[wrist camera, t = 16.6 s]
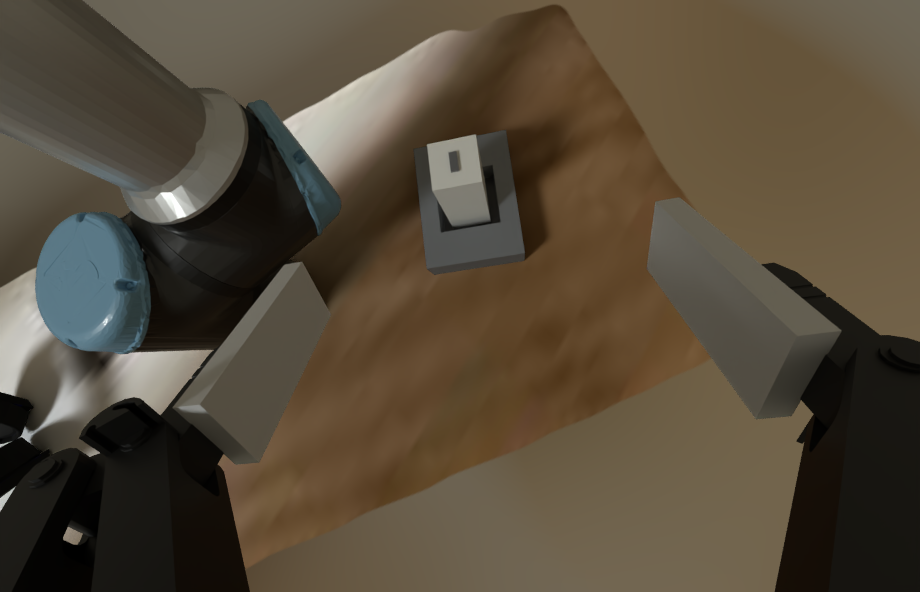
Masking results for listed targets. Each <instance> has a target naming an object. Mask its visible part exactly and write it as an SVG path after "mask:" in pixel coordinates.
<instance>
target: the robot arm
mask: <svg viewBox="0 0 920 592" xmlns="http://www.w3.org/2000/svg"><path fill="white" fill-rule="evenodd" d="M0 133H3V134H5V135H7V136H9V137H11V138H14V139H16V140H18V141H20V142H22V143H25V144H27V145H29V146H31V147H33V148H36V149H38V150H40V151H42V152H44V153H47V154H49V155H51V156H53V157H56V158H58V159H60V160H62V161H64V162H66V163H69V164H71V165H73V166H75V167H78V168H80V169H82V170H84V171H86V172H88V173H91V174H93V175H95V176H98V177H100V178H102V179H104V180H106V181H108V182H111V183H113V184H115V185H117V186H119V187H120V188H121V191H122V194H123V196H124V199H125V201H126V203H127V205H128V207H129V208H130V210H131V211H130V212H129V213H128V214H127V215H126V216H124V217H122V218H118V217H117V216H115V215H113V214H110V213H107V212H100V213H97V212H90V213H86V212H83V213H78V214H74V215H72V216H70V217H69V218H67V219H66V220H64V221H63V222H61V223H60V224H59V225H58V226H57V227H56V228H55V229H54V230H53V232H52V233H51V234H50V236H49V237H48V239H47V241H46V242H45V244H44V246H43V249H42V252H41V254H40V257H39V261H38V265H37V270H36V282H35V290H36V299H37V304H38V308H39V311H40V313H41V316H42V318H43V320H44V322H45V324H46V326H47V327H48V329H49V330H50V331H51V332H52V333H53V334H54V335H55V336H56V337H57V338H58V339H59V340H60V341H62V342H63V343H65V344H66V345H69V346H71V347H73V348H77V349H80V350H85V351H104V352H115V353H118V354H128V353H132V352H157V351H185V350H214V351H212V352H211V353H210V354H209V356H208V357H207V358H206V359H205V361H204V362H203V363H202V364H201V366H200V368H199V369H197V371H196V372H195V373H194V374H193V376H192V379H189V381H188V382H187V383H186V384H185V386H184V387H183V388H182V389H181V391H180V392H179V393H178V394H177V396H176V397H175V398H174V399H173V401H172V402H171V403H170V404H169V406H168V407H167V408H166V409H165V411H164V412H163V413H162V414H161V416H160V415H159V414H158V413H157V412H155V411H154V410H153V409H152V408H151V407H150V406H148V405H147V404H146V403H145V402H144V401H143V400H141V399H140V398H135V397H133V398H128V399H124V400H122V401H120V402H117V403H115V404H113V405H111V406H110V407H108V408H107V409H105V410H103V411H102V412H101V413H99V414H98V415H97V416H96V417H95V418H93V419H92V420H91V421H90V422H89V423H88V424H87V426H86V427H85V428H84V429H83V430H82V433H81V435H80V437H79V439H81V440H82V441H84V442H85V443H87V444H88V445H90V446H91V447H93V448H94V449H96V450H97V451H99V452H100V454H97V455H94V456H92V457H89V456H87V455H86V454H84V453H83V452H81V451H80V450H78V449H77V448H68V449H65V450H62V451H59V452H57V453H55V454H53V455H52V456H50V457H47V458H45V459H44V460H42V461H41V463H38V464H37V465H35V466H34V467H33V468H32V469H31V471H29V472H28V473H27V474H26V475H25V476H24V477H23V478H22V480H21V481H20V482H19V483H18V485H17V486H16V487H15V489H14V490H13V492H12V494H11V495H10V497H9V499H8V500H7V502H6V503H5V505H4V507H3V508H2V510H1V512H0V592H250V590H249V586H248V581H247V576H246V572H245V567H244V562H243V558H242V553H241V548H240V544H239V539H238V535H237V530H236V525H235V521H234V516H233V511H232V507H231V502H230V498H229V493H228V488H227V484H226V479H225V474H224V471H223V470H222V468H221V467H220V466H219V465H218V462H219V461H220V459H221V457H222V455H223V454H224V455H226V456H227V457H228V458H229V459H230V460H231V461H232V462H233V463H234V464H247V463H259V462H260V460H261V458H262V456H263V454H264V452H265V450H266V448H267V445H268V443H269V441H270V439H271V437H272V435H273V433H274V431H275V429H276V427H277V425H278V423H279V421H280V419H281V417H282V415H283V413H284V410H285V408H286V406H287V404H288V402H289V400H290V398H291V396H292V394H293V392H294V390H295V388H296V386H297V384H298V382H299V380H300V378H301V375H302V373H303V371H304V369H305V367H306V365H307V363H308V361H309V359H310V357H311V355H312V353H313V351H314V349H315V347H316V345H317V342H318V340H319V338H320V336H321V334H322V332H323V330H324V328H325V326H326V324H327V322H328V320H329V318H330V316H331V314H330V312H329V310H328V308H327V306H326V305H325V303H324V301H323V299H322V297H321V295H320V293H319V292H318V290H317V288H316V286H315V284H314V282H313V281H312V279H311V277H310V275H309V273H308V271H307V269H306V268H305V266H304V264H303V262H297V263H295V262H293V261H291V260H289V259H290V258H292V257H293V256H294V255H295V254H296V253H298V252H299V251H300V250H301V249H302V248H304V247H305V246H306V245H307V244H308V243H310V242H311V241H312V240H313V239H314V238H316V237H317V236H319V235H320V234H321V233H322V230H323V229H324V228H325V227H326V226H327V225H328V224H329V223H330V222H331V221H332V220H333V219H334V218H335V217H336V216H337V215H338V214H339V212H340V209H341V200H340V198H339V195H338V194H337V192H336V191H335V190H334V188H333V187H332V186H331V184H330V183H329V182H328V180H327V179H326V178H325V176H324V175H323V174H322V172H321V171H320V170H319V168H318V167H317V166H316V165H315V163H314V162H313V161H312V159H311V158H310V157H309V155H308V154H307V153H306V152H305V150H304V149H303V148H302V146H301V145H300V144H299V143H298V141H297V140H296V139H295V137H294V136H293V135H292V133H291V132H290V131H289V130H288V128H287V127H286V126H285V125H284V123H283V122H282V121H281V119H280V118H279V117H278V116H277V114H276V113H275V112H274V111H273V110H272V108H271V107H270V106H269V105H268V104H267V102H265V101H263V100H257V101H255V102H251V103H248V105H247V107H246V109H245V108H244V107H243V106H242V105H240V104H239V103H238V102H237V101H236V100H235V99H234V98H232V97H231V96H229V95H228V94H227V93H225V92H224V91H221V90H218V89H214V88H189V87H188V86H187V85H186V84H184V83H183V82H182V81H180V80H179V79H178V78H177V77H176V76H175V75H173V74H172V73H171V72H170V71H168V70H167V69H166V68H165V67H164V66H162V65H161V64H159V62H157V61H156V60H155V59H154V58H153V57H151V56H150V55H149V54H147V53H146V52H145V51H144V50H143V49H142V48H140V47H139V46H138V45H137V44H135V43H134V42H133V41H132V40H131V39H129V38H128V37H127V36H126V35H124V34H123V33H122V32H121V31H120V30H118V29H117V28H116V27H115V26H113V25H112V24H111V23H110V22H109V21H107V20H106V19H105V18H104V17H102V16H101V15H100V14H99V13H97V12H96V11H95V10H94V9H93V8H91V7H90V6H89V5H88V4H86V3H85V2H84V1H83V0H0ZM647 270H648V271H649V272H650V274H651V275H652V277H653V278H654V279H655V281H656V282H657V283H658V285H659V286H660V288H661V289H662V290H663V292H664V293H665V294H666V296H667V297H668V299H669V300H670V301H671V303H672V304H673V305H674V307H675V308H676V310H677V311H678V312H679V314H680V315H681V317H682V318H683V319H684V321H685V322H686V323H687V325H688V326H689V328H690V329H691V330H692V332H693V333H694V334H695V336H696V337H697V339H698V340H699V341H700V343H701V344H702V345H703V347H704V348H705V350H706V351H707V352H708V354H709V355H710V357H711V358H712V359H713V360H714V362H715V363H716V365H717V366H718V368H719V369H720V370H721V372H722V373H723V374H724V376H725V377H726V378H727V380H728V381H729V383H730V384H731V385H732V387H733V388H734V390H735V391H736V392H737V394H738V395H739V397H740V398H741V399H742V401H743V402H744V403H745V405H746V406H747V407H748V409H749V410H750V412H751V413H752V414H753V416H754V417H755V418H756V419H764V418H775V417H786V416H792V414H793V413H794V411H795V409H796V408H797V406H798V404H799V403H800V400H802V401H803V402H804V403H805V405H806V406H807V407H808V408H809V409H810V410H811V411H812V413H813V414H814V415H813V416H812V418H811V419H810V421H809V422H808V424H807V425H806V427H805V429H804V430H803V432H802V433H801V435H800V436H799V438H798V439H797V442H799V443H803V442H804V447H803V451H802V457H801V462H800V467H799V472H798V477H797V482H796V487H795V492H794V497H793V502H792V508H791V512H790V517H789V522H788V527H787V532H786V537H785V542H784V547H783V552H782V558H781V562H780V567H779V573H778V577H777V582H776V588H775V592H920V342H918V341H915V340H912V339H909V338H904V337H897V336H891V335H879V334H878V333H876V332H875V331H874V330H873V329H871V328H870V327H869V326H867V325H866V324H865V323H863V322H862V321H861V320H859V319H858V318H857V317H855V316H854V315H853V314H851V313H850V312H849V311H847V310H846V309H845V308H843V307H842V306H841V305H839V304H838V303H837V302H836V301H834V300H833V299H831V298H830V297H826V294H825V293H824V292H822V291H821V290H820V289H818V288H817V287H813V286H812V285H813V284H811V283H810V282H809V281H808V280H806V279H805V278H804V277H802V276H801V275H800V274H798V273H797V272H795V271H793V270H790V269H788V268H786V267H783V266H781V265H778V264H776V263H769V264H760V263H759V262H757V261H756V260H755V259H754V258H753V257H751V256H750V255H749V254H748V253H746V252H745V251H744V250H743V249H742V248H740V247H739V246H738V245H737V244H736V243H734V242H733V241H732V240H731V239H729V238H728V237H727V236H726V235H725V234H723V233H722V232H721V231H720V230H718V229H717V228H716V227H715V226H714V225H712V224H711V223H710V222H709V221H707V220H706V219H705V218H704V217H703V216H701V215H700V214H699V213H698V212H697V211H695V210H694V209H693V208H692V207H690V206H689V205H688V204H687V203H686V202H684V201H683V200H682V199H681V198H680V197H679V198H673V199H667V200H662V201H656V202H655V210H654V217H653V225H652V233H651V240H650V248H649V255H648V263H647ZM67 527H70V528H72V529H74V530H76V531H78V532H80V533H83V535H82V538H81V540H80V542H79V543H78V545H73V544H71V543H69V542H66V541H64V540H63V536H64V534H65V532H66V530H67Z"/></svg>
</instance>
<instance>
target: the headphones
mask: <svg viewBox="0 0 920 592" xmlns="http://www.w3.org/2000/svg"><path fill="white" fill-rule="evenodd" d="M32 408H34V407H33V406H32V405H31V403H30V402H29V401H28V400H27V399H23V398H20V397H16V396H12V395H9V394H5V393H1V392H0V444H4V443H7V442H10V443H8V444H6V445H4V446H2V447H1V448H0V498H1V497H2V496H3V495H5V494H6V493H7V492H9V491H10V490H11V489H13V488H14V487H16V486H17V485H18V483H19V482H20V481H21V480H22V478H23V477H24V476H25V475H26V474H27V473H28V472H29V471H31V469H32V468H33V467H34V466H35V465H37V464H38V463H41V461H42V460H44V459H45V458H47V457H49V449H48V450H46V451H45V452H43V453H42V454H41V455H39V454H40V453H41V452H40V451H39V450H38V449H36V448H35V447H34V446H32V445H31V444H30V443H29V442H27V441H26V440H25V439H24V438H22V437H21V438H19V437H20V436H21V435H22V433H23V430H24V427H25V424H26V421H27V418H28V411H30V410H31V409H32ZM11 441H12V442H11ZM38 455H39V456H38Z"/></svg>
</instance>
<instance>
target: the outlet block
mask: <svg viewBox="0 0 920 592" xmlns="http://www.w3.org/2000/svg"><path fill="white" fill-rule="evenodd" d="M476 138H477V143H478V148H479V153H480V158H481V163H482V168H483V173H484V178H485V183H486V189H487V196H488V204H489V211H490V218H491V222H490V223H485V224H479V225H473V226H467V227H461V228H455V229H453V227H452V225H451V223H450V222H449V220H448V218H447V216H446V214H445V213H444V211H443V209H442V207H441V205H440V204H439V202H438V200H437V198H436V197H435V195H434V193H433V191H432V184H431V175H430V166H429V157H428V149H427V146H426V147H421V148H416V149H414V158H415V167H416V176H417V185H418V194H419V203H420V212H421V221H422V230H423V239H424V248H425V257H426V266H427V269H428V270H429V271H430V272H432V273H433V274H434V275H436V274H442V273H449V272H455V271H461V270H468V269H474V268H481V267H487V266H494V265H500V264H506V263H513V262H519V261H524V258H525V251H524V244H523V238H522V231H521V225H520V218H519V212H518V205H517V199H516V192H515V186H514V180H513V173H512V167H511V160H510V154H509V147H508V141H507V134H506V130H503V131H498V132H493V133H488V134H483V135H478V136H476Z"/></svg>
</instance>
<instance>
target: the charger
mask: <svg viewBox="0 0 920 592" xmlns="http://www.w3.org/2000/svg"><path fill="white" fill-rule="evenodd" d="M427 149H428V157H429V166H430V175H431V184H432V191H433V193H434V195H435V197H436V198H437V200H438V202H439V204H440V205H441V207H442V209H443V211H444V213H445V214H446V216H447V218H448V220H449V222H450V223H451V225H452V227H453V229H455V228H461V227H467V226H473V225H479V224H485V223H490V222H491V218H490V211H489V204H488V196H487V189H486V183H485V178H484V173H483V168H482V163H481V158H480V153H479V148H478V143H477V138H476V134H475V135H470V136H466V137H461V138H456V139H451V140H446V141H441V142H436V143H431V144H427Z"/></svg>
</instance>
